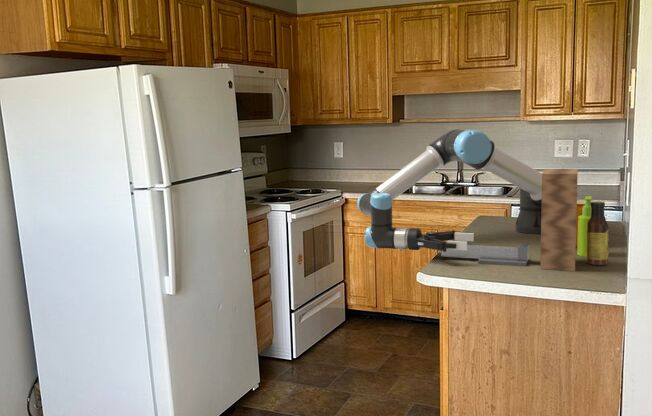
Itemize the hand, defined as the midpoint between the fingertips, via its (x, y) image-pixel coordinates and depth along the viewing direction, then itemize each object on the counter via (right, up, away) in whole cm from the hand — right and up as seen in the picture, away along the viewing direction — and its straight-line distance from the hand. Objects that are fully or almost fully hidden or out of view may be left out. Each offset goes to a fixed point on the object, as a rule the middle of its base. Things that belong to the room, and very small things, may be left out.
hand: (470, 241), depth 204 cm
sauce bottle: (+38, -7, -11) cm, 40 cm away
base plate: (+10, -6, -3) cm, 12 cm away
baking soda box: (+44, -2, +15) cm, 47 cm away
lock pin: (+4, -5, -1) cm, 7 cm away
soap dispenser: (+39, -5, +1) cm, 40 cm away
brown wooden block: (+26, -7, -10) cm, 28 cm away
